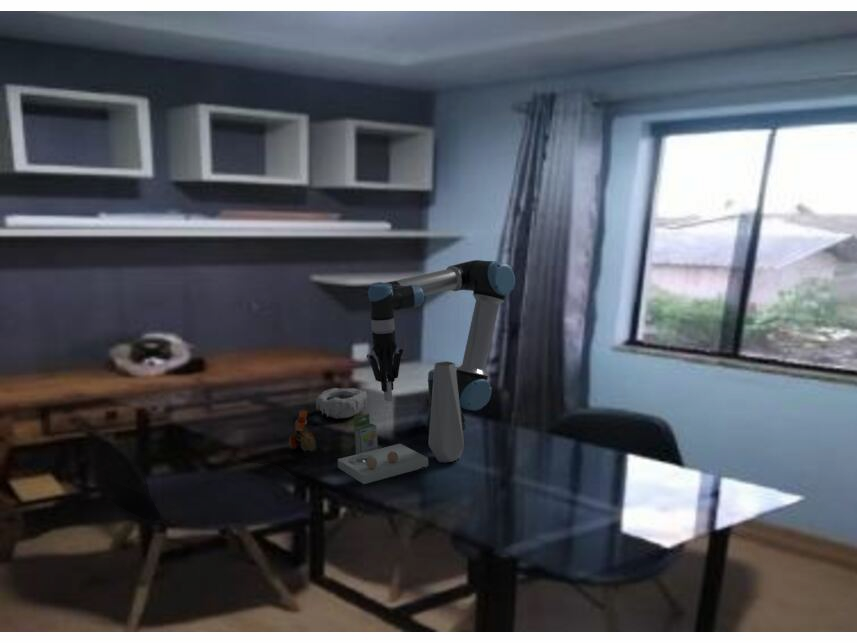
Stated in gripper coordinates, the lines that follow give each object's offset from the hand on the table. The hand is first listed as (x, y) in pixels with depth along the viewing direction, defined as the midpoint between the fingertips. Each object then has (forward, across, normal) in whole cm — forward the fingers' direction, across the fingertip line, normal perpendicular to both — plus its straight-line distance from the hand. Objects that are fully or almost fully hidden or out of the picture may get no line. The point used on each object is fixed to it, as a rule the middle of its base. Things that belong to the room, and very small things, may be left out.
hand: (388, 400), depth 260 cm
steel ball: (+19, +13, +1) cm, 23 cm away
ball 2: (+16, +5, +9) cm, 19 cm away
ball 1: (+16, +13, +10) cm, 23 cm away
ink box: (+21, +4, -11) cm, 24 cm away
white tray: (+21, +6, +4) cm, 22 cm away
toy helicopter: (+21, +20, -26) cm, 39 cm away
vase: (+21, -15, +12) cm, 29 cm away
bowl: (+21, -10, -56) cm, 60 cm away
